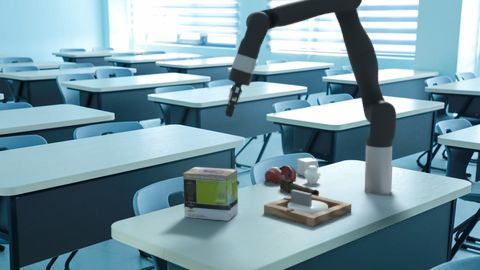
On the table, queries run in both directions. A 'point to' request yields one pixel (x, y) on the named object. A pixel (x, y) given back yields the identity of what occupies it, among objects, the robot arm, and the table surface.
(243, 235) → the table surface
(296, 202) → the dial
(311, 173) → the white fluted cup
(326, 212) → the wooden frame
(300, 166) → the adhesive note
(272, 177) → the teeth model
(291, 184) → the hand tool
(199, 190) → the tea box
